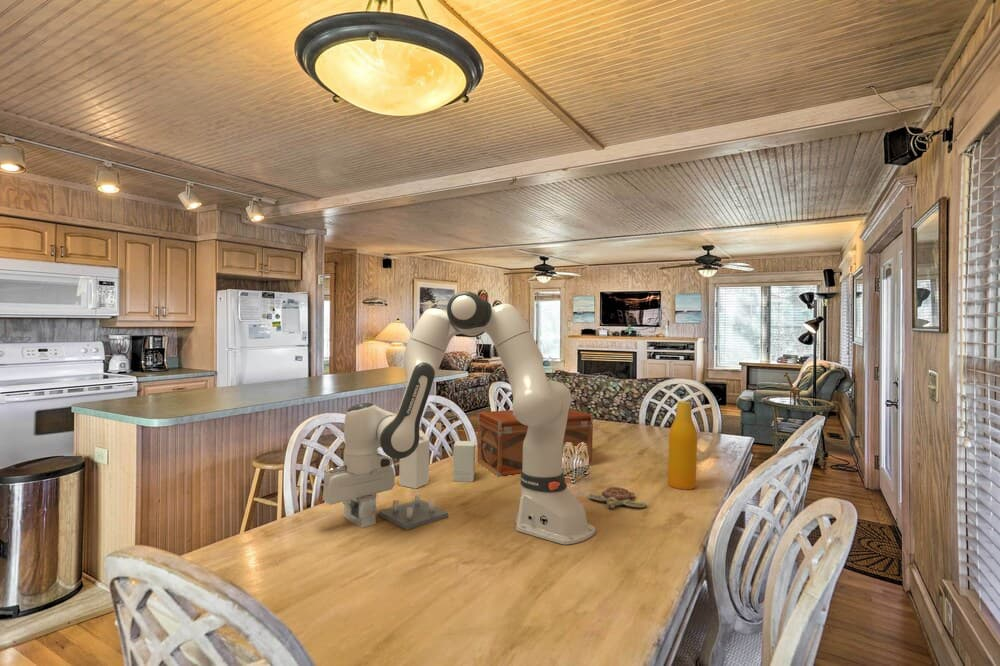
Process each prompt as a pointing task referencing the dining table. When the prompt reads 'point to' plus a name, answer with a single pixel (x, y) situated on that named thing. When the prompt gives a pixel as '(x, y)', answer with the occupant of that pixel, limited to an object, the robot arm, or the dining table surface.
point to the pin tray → (413, 513)
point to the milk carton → (416, 465)
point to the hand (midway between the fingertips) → (359, 512)
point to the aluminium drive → (362, 511)
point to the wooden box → (521, 439)
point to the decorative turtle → (617, 497)
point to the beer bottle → (682, 449)
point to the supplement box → (464, 461)
